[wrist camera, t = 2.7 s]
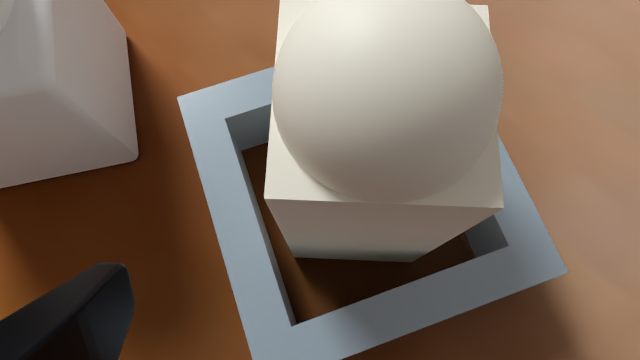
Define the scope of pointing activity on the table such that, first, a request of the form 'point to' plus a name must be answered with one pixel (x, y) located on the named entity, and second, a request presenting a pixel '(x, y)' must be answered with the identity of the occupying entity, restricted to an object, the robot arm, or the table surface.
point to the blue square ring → (366, 315)
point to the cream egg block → (383, 126)
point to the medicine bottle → (63, 90)
